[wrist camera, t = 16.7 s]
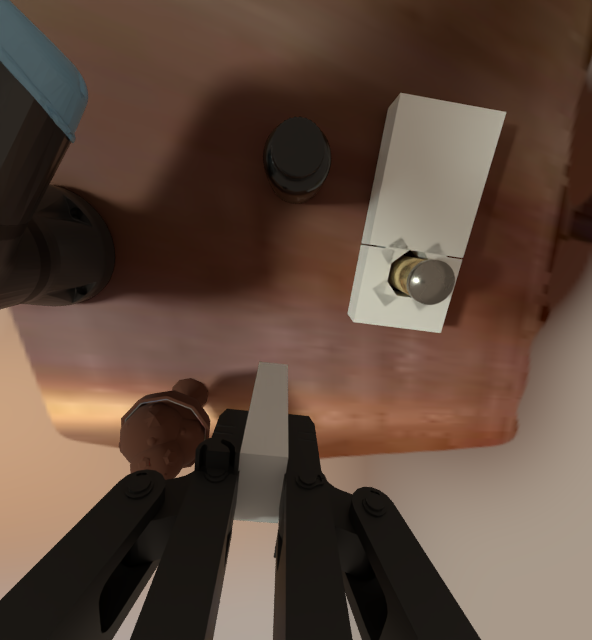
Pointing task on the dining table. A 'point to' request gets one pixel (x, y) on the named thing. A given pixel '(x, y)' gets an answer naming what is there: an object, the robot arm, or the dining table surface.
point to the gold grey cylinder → (422, 279)
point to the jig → (422, 202)
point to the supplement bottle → (296, 159)
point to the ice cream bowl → (165, 429)
